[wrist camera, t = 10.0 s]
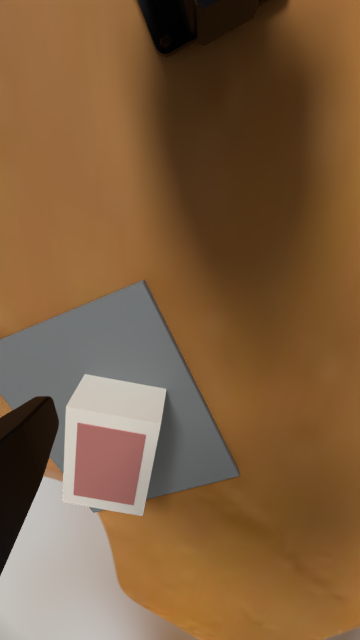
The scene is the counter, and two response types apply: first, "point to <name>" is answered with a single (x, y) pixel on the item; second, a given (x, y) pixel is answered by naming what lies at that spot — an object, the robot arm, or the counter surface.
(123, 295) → the mat
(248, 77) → the counter surface
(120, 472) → the card box
